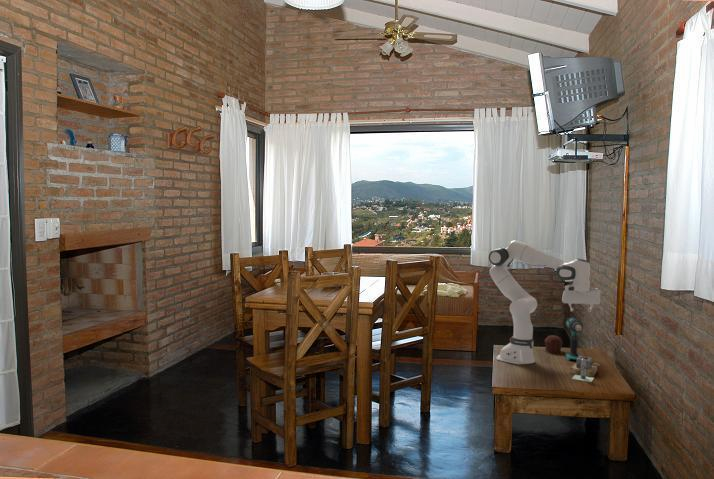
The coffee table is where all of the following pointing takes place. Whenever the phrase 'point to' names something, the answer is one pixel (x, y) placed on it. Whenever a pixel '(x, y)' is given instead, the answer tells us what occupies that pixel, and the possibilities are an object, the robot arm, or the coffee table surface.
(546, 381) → the coffee table surface
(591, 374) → the block
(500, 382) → the coffee table surface
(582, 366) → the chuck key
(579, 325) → the power drill
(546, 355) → the coffee table surface
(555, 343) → the muffin
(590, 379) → the mat
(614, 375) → the coffee table surface
